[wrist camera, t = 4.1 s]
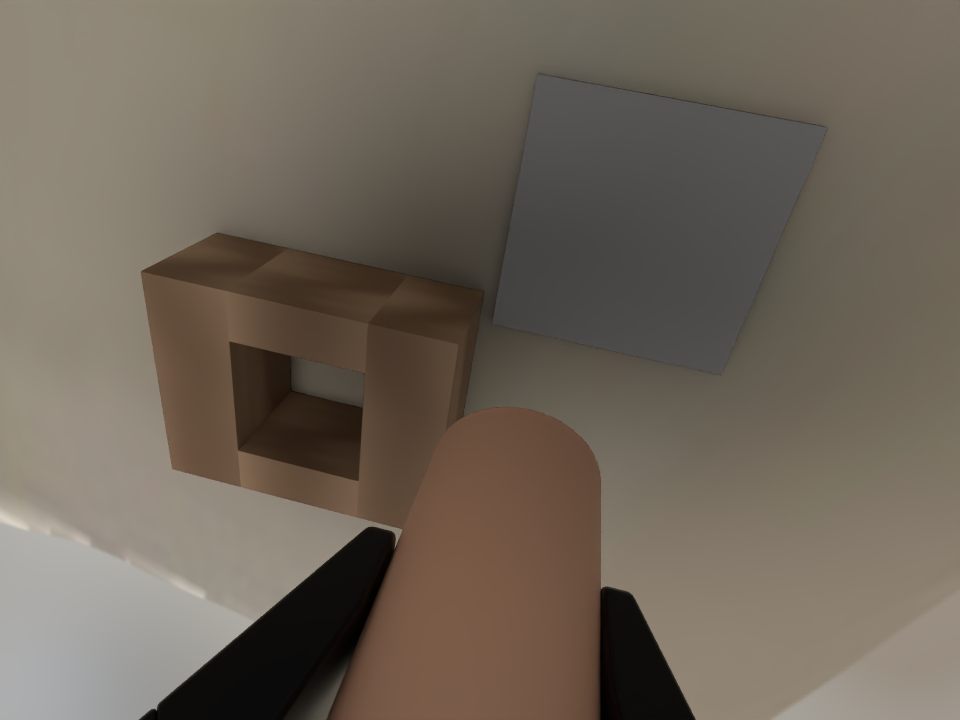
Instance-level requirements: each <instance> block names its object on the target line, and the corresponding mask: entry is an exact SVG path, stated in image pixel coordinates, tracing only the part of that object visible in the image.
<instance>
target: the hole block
mask: <svg viewBox="0 0 960 720" xmlns="http://www.w3.org/2000/svg"><path fill="white" fill-rule="evenodd" d="M141 276H142V283H143V289H144V295H145V301H146V308H147V314H148V320H149V326H150V333H151V339H152V345H153V351H154V358H155V364H156V370H157V376H158V383H159V389H160V395H161V401H162V408H163V414H164V420H165V427H166V433H167V439H168V445H169V452H170V458H171V464H172V469H174V470H178V471H182V472H185V473H189V474H193V475H197V476H201V477H205V478H208V479H212V480H216V481H220V482H224V483H228V484H231V485H235V486H239V487H243V488H247V489H251V490H254V491H258V492H262V493H266V494H270V495H274V496H277V497H281V498H285V499H289V500H293V501H297V502H300V503H304V504H308V505H312V506H316V507H319V508H323V509H327V510H331V511H335V512H339V513H342V514H346V515H350V516H354V517H358V518H362V519H365V520H369V521H373V522H377V523H381V524H385V525H388V526H392V527H396V528H400V529H403V528H404V525H405V523H406V520H407V518H408V515H409V513H410V510H411V508H412V506H413V503H414V501H415V498H416V496H417V493H418V491H419V488H420V486H421V483H422V481H423V478H424V476H425V473H426V471H427V468H428V466H429V463H430V461H431V458H432V456H433V453H434V451H435V448H436V446H437V444H438V441H439V440H440V438H441V437H442V435H443V434H444V433H445V432H446V430H447V429H448V428H449V427H450V426H452V425H453V424H454V423H455V422H456V421H458V420H460V419H461V418H463V413H464V407H465V401H466V395H467V389H468V383H469V377H470V371H471V365H472V359H473V354H474V348H475V342H476V336H477V330H478V324H479V318H480V312H481V306H482V300H483V294H484V292H482V291H478V290H473V289H469V288H464V287H460V286H455V285H451V284H446V283H442V282H437V281H433V280H428V279H423V278H419V277H414V276H410V275H405V274H401V273H396V272H392V271H387V270H383V269H378V268H374V267H369V266H365V265H360V264H356V263H351V262H346V261H342V260H337V259H333V258H328V257H324V256H319V255H315V254H310V253H306V252H301V251H297V250H292V249H288V248H283V247H278V246H274V245H269V244H265V243H260V242H256V241H251V240H247V239H242V238H238V237H233V236H229V235H224V234H220V233H215V234H213V235H211V236H209V237H207V238H206V239H204V240H202V241H200V242H198V243H196V244H194V245H192V246H190V247H188V248H186V249H184V250H182V251H180V252H178V253H176V254H174V255H172V256H170V257H168V258H166V259H164V260H162V261H160V262H158V263H156V264H154V265H152V266H151V267H149V268H147V269H145V270H143V271H141ZM290 356H293V357H298V358H302V359H306V360H310V361H314V362H319V363H323V364H327V365H331V366H335V367H340V368H344V369H348V370H352V371H356V372H361V373H365V382H364V399H363V409H361V408H357V407H353V406H349V405H345V404H341V403H337V402H333V401H329V400H324V399H320V398H316V397H312V396H308V395H304V394H300V393H296V392H292V391H291V381H290Z"/></svg>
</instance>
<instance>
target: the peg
mask: <svg viewBox="0 0 960 720" xmlns="http://www.w3.org/2000/svg"><path fill="white" fill-rule="evenodd" d="M326 720H601V477H600V470H599V466H598V463H597V461H596V458H595V456H594V454H593V452H592V451H591V449H590V448H589V446H588V445H587V443H586V442H585V441H584V440H583V439H582V438H581V437H580V436H579V435H578V434H577V433H576V432H575V431H574V430H573V429H571V428H570V427H568V426H567V425H566V424H564V423H562V422H561V421H559V420H557V419H555V418H553V417H551V416H548V415H546V414H544V413H541V412H537V411H534V410H530V409H524V408H516V407H496V408H489V409H484V410H481V411H477V412H474V413H472V414H469V415H467V416H465V417H463V418H461V419H460V420H458V421H456V422H455V423H454V424H453V425H452V426H450V427H449V428H448V429H447V430H446V432H445V433H444V434H443V435H442V437H441V438H440V440H439V441H438V444H437V446H436V448H435V451H434V453H433V456H432V458H431V461H430V463H429V466H428V468H427V471H426V473H425V476H424V478H423V481H422V483H421V486H420V488H419V491H418V493H417V496H416V498H415V501H414V503H413V506H412V508H411V510H410V513H409V515H408V518H407V520H406V523H405V525H404V528H403V530H402V533H401V535H400V538H399V540H398V543H397V545H396V548H395V550H394V553H393V555H392V558H391V560H390V563H389V565H388V568H387V570H386V573H385V575H384V578H383V580H382V583H381V585H380V588H379V590H378V593H377V595H376V597H375V600H374V602H373V605H372V607H371V610H370V612H369V615H368V617H367V620H366V622H365V625H364V627H363V630H362V632H361V635H360V637H359V640H358V642H357V645H356V647H355V650H354V652H353V655H352V657H351V660H350V662H349V665H348V667H347V670H346V672H345V675H344V677H343V680H342V682H341V684H340V687H339V689H338V692H337V694H336V697H335V699H334V702H333V704H332V707H331V709H330V712H329V714H328V717H327V719H326Z"/></svg>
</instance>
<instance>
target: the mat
mask: <svg viewBox="0 0 960 720" xmlns="http://www.w3.org/2000/svg"><path fill="white" fill-rule="evenodd" d="M827 130H828V128H827V127H825V126H820V125H814V124H809V123H803V122H798V121H793V120H787V119H782V118H776V117H771V116H766V115H760V114H755V113H749V112H744V111H739V110H733V109H728V108H722V107H717V106H712V105H706V104H701V103H695V102H690V101H685V100H679V99H674V98H668V97H663V96H658V95H652V94H647V93H641V92H636V91H630V90H625V89H620V88H614V87H609V86H603V85H598V84H593V83H587V82H582V81H576V80H571V79H566V78H560V77H555V76H549V75H544V74H539V73H538V74H537V79H536V84H535V90H534V95H533V101H532V106H531V112H530V117H529V123H528V128H527V134H526V139H525V145H524V150H523V156H522V161H521V167H520V172H519V178H518V183H517V189H516V194H515V199H514V205H513V210H512V216H511V221H510V227H509V232H508V238H507V243H506V249H505V254H504V260H503V265H502V271H501V276H500V282H499V287H498V293H497V298H496V304H495V309H494V315H493V320H492V324H494V325H499V326H503V327H508V328H512V329H517V330H521V331H525V332H530V333H534V334H539V335H543V336H548V337H552V338H557V339H561V340H565V341H570V342H574V343H579V344H583V345H588V346H592V347H596V348H601V349H605V350H610V351H614V352H619V353H623V354H628V355H632V356H636V357H641V358H645V359H650V360H654V361H659V362H663V363H667V364H672V365H676V366H681V367H685V368H690V369H694V370H699V371H703V372H707V373H712V374H716V375H721V374H722V372H723V370H724V367H725V365H726V363H727V360H728V358H729V356H730V353H731V351H732V349H733V346H734V344H735V342H736V340H737V337H738V335H739V333H740V330H741V328H742V326H743V323H744V321H745V319H746V316H747V314H748V312H749V310H750V307H751V305H752V303H753V300H754V298H755V296H756V293H757V291H758V289H759V286H760V284H761V282H762V280H763V277H764V275H765V273H766V270H767V268H768V266H769V263H770V261H771V259H772V256H773V254H774V252H775V250H776V247H777V245H778V243H779V240H780V238H781V236H782V233H783V231H784V229H785V226H786V224H787V222H788V220H789V217H790V215H791V213H792V210H793V208H794V206H795V203H796V201H797V199H798V196H799V194H800V192H801V190H802V187H803V185H804V183H805V180H806V178H807V176H808V173H809V171H810V169H811V166H812V164H813V162H814V160H815V157H816V155H817V153H818V150H819V148H820V146H821V143H822V141H823V139H824V136H825V134H826V132H827Z"/></svg>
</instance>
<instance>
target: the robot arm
mask: <svg viewBox="0 0 960 720" xmlns="http://www.w3.org/2000/svg"><path fill="white" fill-rule="evenodd" d="M395 541H396V537H395V534H394V533H393V532H392V531H388V530H384V529H380V528H377V527H368V528H366V529H365V530H363V531H362V532H361V533H360V534H359V535H357V536H356V537H355V538H354V539H353V540H351V541H350V542H349V543H348V544H347V545H346V546H344V547H343V548H342V549H341V550H340V551H338V552H337V553H336V554H335V555H334V556H332V557H331V558H330V559H329V560H328V561H327V562H325V563H324V564H323V565H322V566H321V567H319V568H318V569H317V570H316V571H315V572H314V573H312V574H311V575H310V576H309V577H308V578H306V579H305V580H304V581H303V582H302V583H301V584H299V585H298V586H297V587H296V588H295V589H293V590H292V591H291V592H290V593H289V594H287V595H286V596H285V597H284V598H283V599H282V600H280V601H279V602H278V603H277V604H276V605H274V606H273V607H272V608H271V609H270V610H269V611H267V612H266V613H265V614H264V615H263V616H261V617H260V618H259V619H258V620H257V621H256V622H254V623H253V624H252V625H251V626H250V627H248V628H247V629H246V630H245V631H244V632H243V633H241V634H240V635H239V636H238V637H237V638H235V639H234V640H233V641H232V642H231V643H230V644H228V645H227V646H226V647H225V648H224V649H223V650H221V651H220V652H219V653H218V654H217V655H215V656H214V657H213V658H212V659H211V660H210V661H208V662H207V663H206V664H205V665H203V666H202V667H201V668H200V669H199V670H198V671H196V672H195V673H194V674H193V675H192V676H190V677H189V678H188V679H187V680H186V681H185V682H183V683H182V684H181V685H180V686H179V687H177V688H176V689H175V690H174V691H173V692H171V693H170V694H169V695H168V696H167V697H166V698H165V699H163V700H162V701H161V702H160V703H159V704H158V706H157V710H156V709H151V710H150V711H148V712H147V713H146V714H145V715H144V716H143V717H141V718H140V719H139V720H326V719H327V717H328V714H329V712H330V709H331V707H332V704H333V702H334V699H335V697H336V694H337V692H338V689H339V687H340V684H341V682H342V680H343V677H344V675H345V672H346V670H347V667H348V665H349V662H350V660H351V657H352V655H353V652H354V650H355V647H356V645H357V642H358V640H359V637H360V635H361V632H362V630H363V627H364V625H365V622H366V620H367V617H368V615H369V612H370V610H371V607H372V605H373V602H374V600H375V597H376V595H377V593H378V590H379V588H380V585H381V583H382V580H383V578H384V575H385V573H386V570H387V568H388V565H389V563H390V560H391V558H392V555H393V553H394V550H395ZM601 720H696V719H695V717H694V715H693V713H692V711H691V709H690V707H689V705H688V703H687V701H686V699H685V697H684V695H683V693H682V691H681V689H680V687H679V685H678V683H677V681H676V679H675V677H674V675H673V673H672V671H671V669H670V667H669V665H668V664H667V662H666V660H665V658H664V656H663V654H662V652H661V650H660V648H659V646H658V644H657V642H656V640H655V638H654V636H653V634H652V632H651V630H650V628H649V626H648V624H647V622H646V620H645V618H644V616H643V614H642V612H641V610H640V608H639V606H638V604H637V602H636V600H635V598H634V597H633V595H632V594H631V593H629V592H627V591H623V590H619V589H615V588H611V587H603V588H602V589H601Z"/></svg>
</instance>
